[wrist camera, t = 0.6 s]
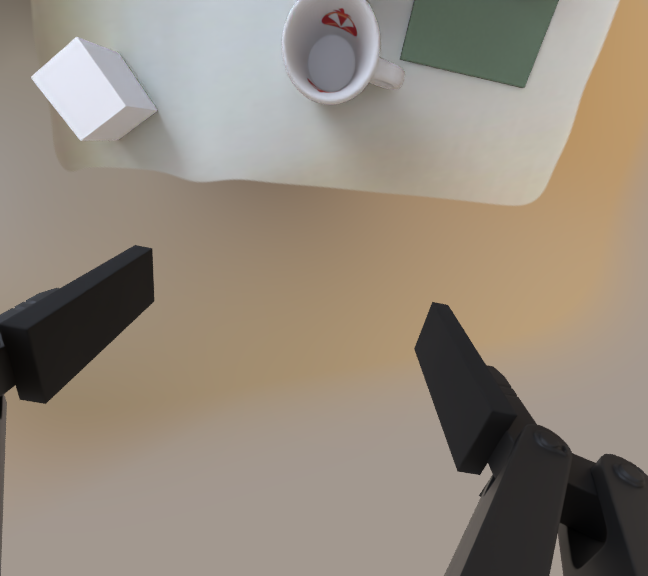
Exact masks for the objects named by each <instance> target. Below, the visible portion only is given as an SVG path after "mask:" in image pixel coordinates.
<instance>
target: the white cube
mask: <svg viewBox="0 0 648 576" xmlns="http://www.w3.org/2000/svg"><path fill="white" fill-rule="evenodd" d="M31 78H32V80H33V81H34V82H35V83H36V85H37V86H38V87H39V88H40V90H41V91H42V92H43V94H44V95H45V96H46V97H47V99H48V100H49V101H50V102H51V104H52V105H53V106H54V108H55V109H56V110H57V111H58V113H59V114H60V115H61V116H62V118H63V119H64V120H65V122H66V123H67V124H68V125H69V127H70V128H71V129H72V130H73V132H74V133H75V134H76V135H77V137H78V138H79V139H80V141H99V140H119V139H120V138H122V137H123V136H124V135H126V134H127V133H128V132H130V131H131V130H132V129H134V128H135V127H136V126H138V125H139V124H141V123H142V122H143V121H145V120H146V119H147V118H149V117H150V116H151V115H153V114H154V113H155V112H157V111H158V110H157V108H156V107H155V105H154V104H153V102H152V101H151V99H150V98H149V96H148V95H147V93H146V92H145V91H144V89H143V88H142V86H141V85H140V83H139V82H138V80H137V79H136V77H135V76H134V74H133V73H132V71H131V70H130V68H129V67H128V65H127V64H126V62H125V61H124V59H123V58H122V57H121V55H120V54H119V53H118V52H116V51H113V50H111V49H108V48H105V47H103V46H100V45H98V44H95V43H92V42H90V41H87V40H84V39H82V38H79V37H76V38H75V39H74V40H73V41H71V42H70V43H69V44H68V45H67V46H66V47H65V48H64V49H62V50H61V51H60V52H59V53H58V54H57V55H56V56H54V57H53V58H52V59H51V60H50V61H49V62H48V63H46V64H45V65H44V66H43V67H42V68H41V69H40V70H39V71H37V72H36V73H35V74H34V75H33V76H32V77H31Z"/></svg>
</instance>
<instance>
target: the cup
mask: <svg viewBox="0 0 648 576" xmlns="http://www.w3.org/2000/svg"><path fill="white" fill-rule="evenodd" d="M380 49H381V38H380V30H379V25H378V22H377V19H376V16H375V14H374V12H373V10H372V8H371V7H370V5H369V4H368V2H367V1H366V0H297V2H296V3H295V4H294V6H293V7H292V9H291V11H290V12H289V14H288V17H287V19H286V22H285V25H284V29H283V35H282V55H283V61H284V65H285V68H286V71H287V73H288V75H289V77H290V79H291V81H292V82H293V84H294V85H295V87H296V88H297V89H298V90H299V91H300V92H301V93H302V94H303V95H304V96H306V97H307V98H309V99H311V100H312V101H315V102H317V103H321V104H327V105H334V104H340V103H344V102H346V101H349V100H351V99H352V98H354V97H355V96H357V95H358V94H359V93H360V92H361V91H362V90H363V89H364V88H365V87H366V86H367V85H368V83H371V84H374V85H377V86H380V87H383V88H387V89H392V90H396V89H399V88H400V87H401V86H402V84H403V81H404V78H405V71H404V70H403V69H402V68H401V67H400V66H398V65H396V64H394V63H392V62H389V61H387V60H384V59H383V58H381V57H380Z"/></svg>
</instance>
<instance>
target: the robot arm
mask: <svg viewBox="0 0 648 576" xmlns="http://www.w3.org/2000/svg"><path fill="white" fill-rule="evenodd" d="M153 302H154V281H153V257H152V248H147V247H142V246H137V245H135V246H133V247H131V248H129V249H127V250H126V251H124V252H123V253H121V254H119V255H117V256H115V257H114V258H112V259H110V260H108V261H107V262H105V263H103V264H102V265H100V266H98V267H97V268H95V269H93V270H91V271H89V272H88V273H86V274H84V275H82V276H81V277H79V278H77V279H76V280H74V281H72V282H70V283H69V284H67V285H65V286H63V287H62V288H55V289H51V290H48V291H45V292H42V293H39V294H37V295H35V296H33V297H31V298H30V299H28V300H26V302H22V303H21V304H19V305H17V306H15V308H14V309H13V308H12V309H10V310H8V311H6V312H4V313H2V314H1V315H0V575H1V549H2V520H3V491H4V464H5V462H4V461H5V435H6V406H7V402H6V399H5V396H4V394H5V393H6V392H7V391H8V390H10V389H11V388H12V387H14V386H15V385H16V388H17V391H18V395H19V398H20V400H26V401H32V402H39V403H45V404H46V403H47V402H48V401H49V400H50V399H51V398H52V397H53V396H54V395H55V394H57V393H58V392H59V391H60V390H61V389H62V388H63V387H64V386H65V385H66V384H67V383H68V382H69V381H70V380H71V379H72V378H73V377H74V376H76V375H77V374H78V373H79V372H80V371H81V370H82V369H83V368H84V367H85V366H86V365H87V364H88V363H89V362H90V361H91V360H93V358H95V357H96V356H97V355H98V354H99V353H100V352H101V351H102V350H103V349H104V348H105V347H106V346H107V345H108V344H109V343H111V342H112V341H113V340H114V339H115V338H116V337H117V336H118V335H119V334H120V333H121V332H122V331H123V330H124V329H125V328H126V327H127V326H129V324H131V323H132V322H133V321H134V320H135V319H136V318H137V317H138V316H139V315H140V314H141V313H142V312H143V311H144V310H145V309H146V308H148V307H149V306H150V305H151V304H152V303H153ZM415 352H416V354H417V357H418V360H419V363H420V366H421V369H422V372H423V374H424V377H425V380H426V383H427V386H428V389H429V392H430V395H431V397H432V400H433V403H434V406H435V409H436V411H437V414H438V417H439V420H440V423H441V426H442V429H443V431H444V434H445V437H446V440H447V442H448V445H449V448H450V451H451V454H452V457H453V460H454V462H455V465H456V468H457V471H459V472H465V473H471V474H478V475H480V474H481V472H482V471H483V469H484V468H485V466H486V464H487V463H488V464H489V466H490V469H491V471H492V473H493V475H492V477H491V478H490V480H489V481H488V483H487V484H486V486H485V487H484V489H483V490H482V492H481V493H480V495H479V496H480V497H481V498H480V500H479V502H478V505H477V507H476V509H475V511H474V513H473V515H472V517H471V519H470V522H469V524H468V526H467V528H466V530H465V532H464V534H463V536H462V539H461V541H460V543H459V545H458V547H457V549H456V552H455V554H454V556H453V558H452V560H451V562H450V564H449V567H448V568H447V570H446V573H445V575H444V576H549V574H550V569H551V564H552V559H553V554H554V549H555V544H556V539H557V534H558V538H559V545H560V552H561V561H562V568H563V576H648V476H647V475H646V474H645V473H644V472H643V471H642V470H641V469H640V468H639V467H637V466H636V465H634V464H633V463H631V462H629V461H627V460H625V459H623V458H621V457H619V456H616V455H613V454H604V455H603V456H601V458H600V459H599V460H598V461H597V463H594V462H592V461H589V460H587V459H584V458H582V457H580V456H577V455H575V454H573V453H572V452H571V450H570V448H569V447H568V445H567V444H566V443H565V442H564V441H563V440H562V439H561V438H560V437H559V436H558V435H557V434H555V433H554V432H552V431H551V430H549V429H547V428H545V427H543V426H540V425H537V424H536V423H535V421H534V419H533V418H532V417H531V415H530V414H529V412H528V411H527V409H526V408H525V406H524V405H523V403H522V402H521V400H520V399H519V397H517V395H516V393H515V391H514V390H513V389H511V386H510V384H509V383H508V381H507V380H506V378H505V377H504V376H503V375H502V374H501V373H500V372H499V371H498V370H497V369H495V368H494V367H492V366H487V365H486V364H485V363H484V361H483V360H482V358H481V356H480V355H479V353H478V352H477V350H476V349H475V347H474V345H473V344H472V342H471V341H470V339H469V337H468V336H467V334H466V333H465V331H464V329H463V328H462V327H461V325H460V323H459V322H458V320H457V318H456V317H455V315H454V314H453V312H452V310H451V309H450V307H449V306H448V305H444V304H440V303H435V302H432V305H431V307H430V310H429V312H428V315H427V318H426V320H425V323H424V325H423V328H422V330H421V333H420V335H419V338H418V341H417V343H416V346H415Z"/></svg>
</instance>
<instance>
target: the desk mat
mask: <svg viewBox="0 0 648 576" xmlns="http://www.w3.org/2000/svg"><path fill="white" fill-rule="evenodd" d="M558 1H559V0H414V4H413V9H412V13H411V17H410V21H409V25H408V29H407V33H406V37H405V41H404V45H403V49H402V53H401V57H400V59H401V60H405V61H409V62H414V63H418V64H422V65H427V66H431V67H435V68H439V69H444V70H448V71H452V72H457V73H461V74H465V75H470V76H474V77H478V78H482V79H487V80H491V81H495V82H500V83H504V84H508V85H513V86H517V87H521V88H524V87H525V85H526V82H527V80H528V77H529V75H530V72H531V70H532V67H533V65H534V62H535V59H536V57H537V54H538V52H539V49H540V47H541V44H542V42H543V39H544V37H545V34H546V32H547V29H548V26H549V24H550V21H551V19H552V16H553V14H554V11H555V9H556V6H557V4H558Z"/></svg>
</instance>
